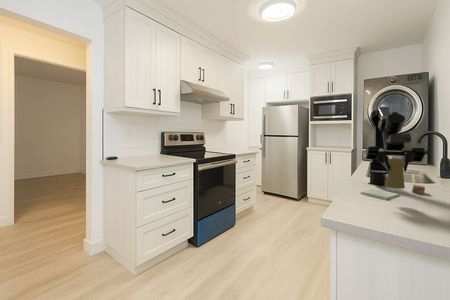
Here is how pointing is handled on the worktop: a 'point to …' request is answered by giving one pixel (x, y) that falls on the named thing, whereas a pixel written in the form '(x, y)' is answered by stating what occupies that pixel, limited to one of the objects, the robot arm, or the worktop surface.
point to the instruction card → (400, 190)
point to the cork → (395, 174)
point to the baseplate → (380, 194)
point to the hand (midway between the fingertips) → (396, 170)
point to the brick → (418, 189)
